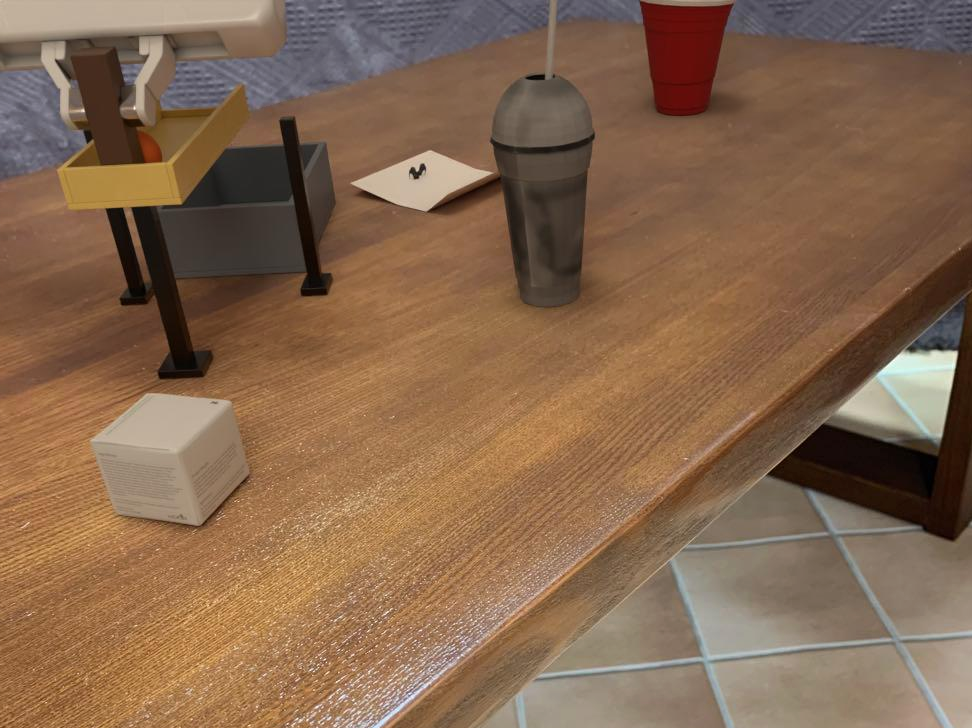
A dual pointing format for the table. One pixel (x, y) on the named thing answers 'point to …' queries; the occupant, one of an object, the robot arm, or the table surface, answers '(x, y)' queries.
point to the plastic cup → (684, 50)
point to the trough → (117, 150)
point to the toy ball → (149, 148)
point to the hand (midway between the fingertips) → (108, 123)
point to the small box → (171, 458)
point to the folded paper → (425, 181)
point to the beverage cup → (544, 179)
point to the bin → (247, 214)
